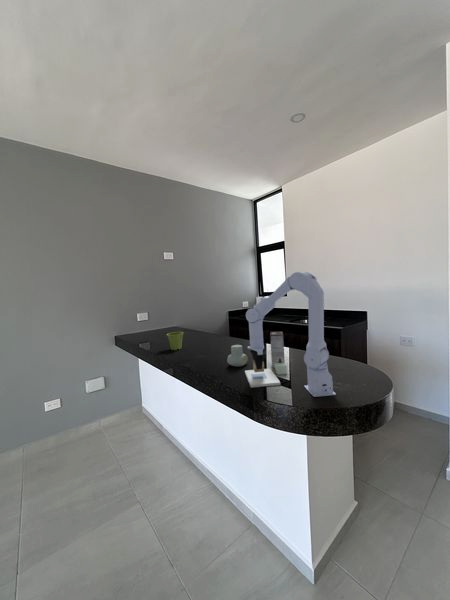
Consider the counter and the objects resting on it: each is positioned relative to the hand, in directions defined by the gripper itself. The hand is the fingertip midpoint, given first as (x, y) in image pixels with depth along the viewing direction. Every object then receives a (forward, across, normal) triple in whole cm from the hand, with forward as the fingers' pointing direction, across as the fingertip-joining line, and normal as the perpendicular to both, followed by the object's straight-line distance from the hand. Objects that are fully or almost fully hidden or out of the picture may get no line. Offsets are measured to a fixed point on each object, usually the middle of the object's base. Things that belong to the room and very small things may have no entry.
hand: (258, 367), depth 108 cm
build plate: (+5, 0, +1) cm, 5 cm away
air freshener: (+5, -22, -7) cm, 24 cm away
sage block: (+5, -5, +11) cm, 13 cm away
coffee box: (+5, -17, +13) cm, 22 cm away
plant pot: (+5, -71, -46) cm, 85 cm away
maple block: (+2, 0, 0) cm, 2 cm away
